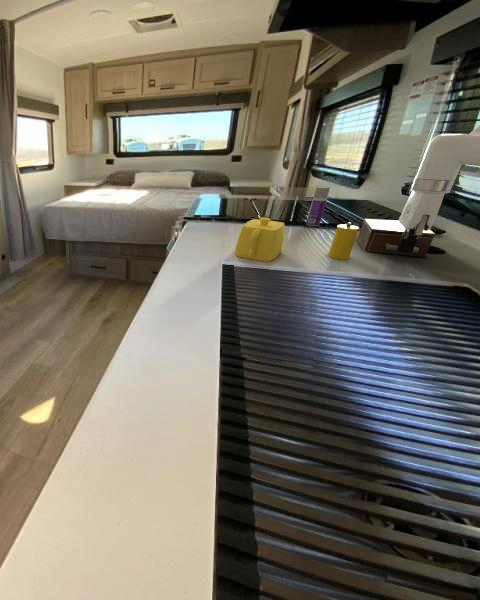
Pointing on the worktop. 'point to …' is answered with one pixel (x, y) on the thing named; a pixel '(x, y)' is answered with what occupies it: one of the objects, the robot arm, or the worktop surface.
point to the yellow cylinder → (343, 241)
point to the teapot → (260, 240)
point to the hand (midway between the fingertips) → (403, 251)
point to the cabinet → (381, 230)
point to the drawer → (391, 240)
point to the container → (317, 206)
